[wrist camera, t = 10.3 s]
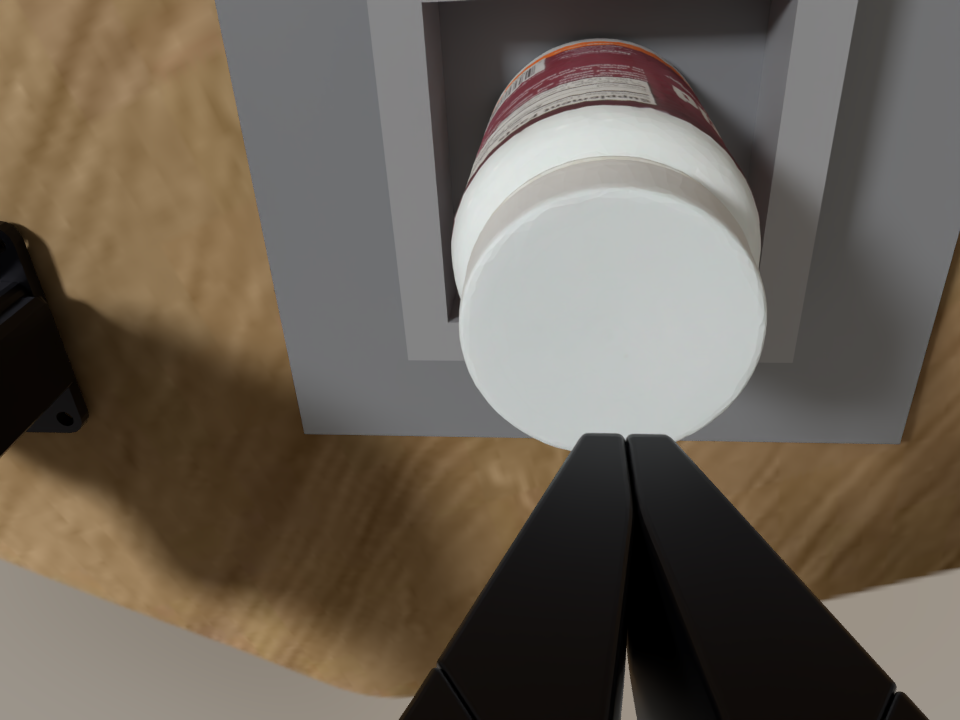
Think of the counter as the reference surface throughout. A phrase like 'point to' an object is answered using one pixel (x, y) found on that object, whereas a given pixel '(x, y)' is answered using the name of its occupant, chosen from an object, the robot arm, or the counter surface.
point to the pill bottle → (607, 252)
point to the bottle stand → (733, 111)
